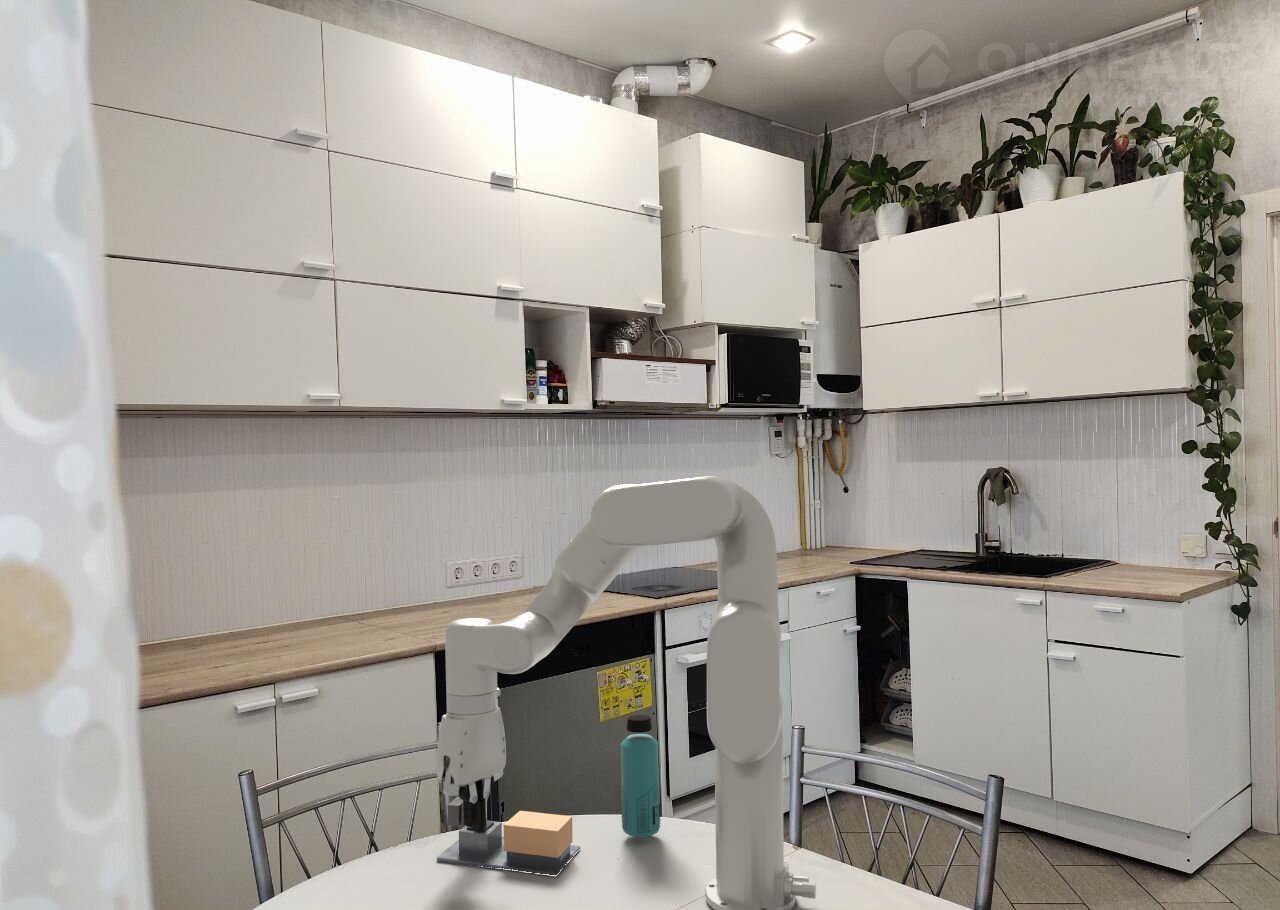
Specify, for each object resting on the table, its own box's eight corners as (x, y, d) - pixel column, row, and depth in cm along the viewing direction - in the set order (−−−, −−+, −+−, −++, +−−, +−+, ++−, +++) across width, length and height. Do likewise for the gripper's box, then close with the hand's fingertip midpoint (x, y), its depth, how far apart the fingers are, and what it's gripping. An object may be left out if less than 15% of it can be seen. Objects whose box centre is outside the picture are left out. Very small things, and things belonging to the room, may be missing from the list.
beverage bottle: (657, 847, 145) (655, 722, 146) (616, 844, 147) (615, 720, 147) (664, 831, 152) (662, 711, 152) (625, 829, 153) (624, 710, 153)
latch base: (580, 849, 145) (579, 822, 145) (556, 877, 135) (555, 848, 136) (467, 836, 151) (467, 810, 151) (436, 861, 141) (436, 833, 141)
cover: (572, 841, 143) (572, 816, 143) (558, 857, 138) (557, 831, 138) (520, 835, 146) (519, 810, 146) (503, 850, 140) (503, 824, 140)
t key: (459, 849, 135) (459, 805, 135) (447, 848, 135) (446, 804, 135) (488, 821, 145) (488, 780, 146) (477, 820, 146) (476, 779, 146)
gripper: (492, 689, 144) (495, 805, 144) (415, 710, 132) (418, 836, 132) (525, 695, 139) (528, 815, 139) (449, 717, 128) (452, 849, 127)
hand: (475, 825), depth 136 cm, fingers closed
